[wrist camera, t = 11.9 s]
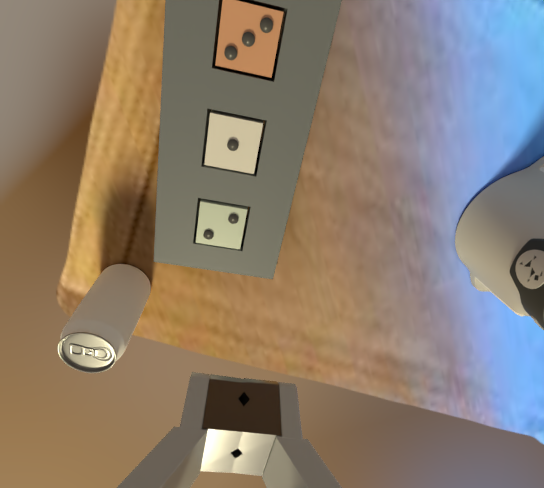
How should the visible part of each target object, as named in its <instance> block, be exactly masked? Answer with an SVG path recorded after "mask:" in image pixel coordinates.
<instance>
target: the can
mask: <svg viewBox="0 0 544 488" xmlns="http://www.w3.org/2000/svg"><path fill="white" fill-rule="evenodd" d="M150 291H151V285H150V281H149V279H148V278H147V276H146V275H145V274H144V273H143V272H142V271H141V270H139V269H138V268H136V267H134V266H131V265H127V264H115V265H111V266H109V267H107V268H106V269H104V270H103V272H102V273H101V274H100V276H99V277H98V278H97V280H96V281H95V283H94V284H93V286H92V287H91V288H90V290H89V291H88V293H87V294H86V296H85V297H84V299H83V300H82V301H81V303H80V304H79V306H78V307H77V309H76V310H75V312H74V313H73V315H72V316H71V318H70V319H69V320H68V322H67V324H66V325H65V327H64V328H63V330H62V333H61V340H60V342H59V344H58V354H59V356H60V358H61V359H62V360H63V361H64V362H65V363H66V364H67V365H68V366H70V367H72V368H74V369H76V370H79V371H82V372H86V373H99V372H103V371H106V370H108V369H110V368H111V367H112V366H113V365H114V363H115V362H116V360H118V359H119V358H120V357H121V356H122V355H123V353H124V351H125V349H126V347H127V345H128V343H129V340H130V338H131V336H132V334H133V332H134V329H135V327H136V325H137V322H138V320H139V318H140V316H141V313H142V311H143V309H144V307H145V304H146V302H147V300H148V297H149V295H150Z"/></svg>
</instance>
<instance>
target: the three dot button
mask: <svg viewBox="0 0 544 488" xmlns="http://www.w3.org/2000/svg"><path fill="white" fill-rule="evenodd" d="M283 13H284V12H282V11H278V10H274V9H270V8H266V7H262V6H258V5H254V4H249V3H245V2H241V1H237V0H223V1H222V10H221V19H220V28H219V37H218V46H217V55H216V64H215V65H216V66H221V67H225V68H230V69H234V70H239V71H243V72H248V73H252V74H257V75H261V76H266V77H270V78H272V73H273V67H274V62H275V56H276V51H277V45H278V40H279V34H280V29H281V24H282V18H283Z"/></svg>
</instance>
